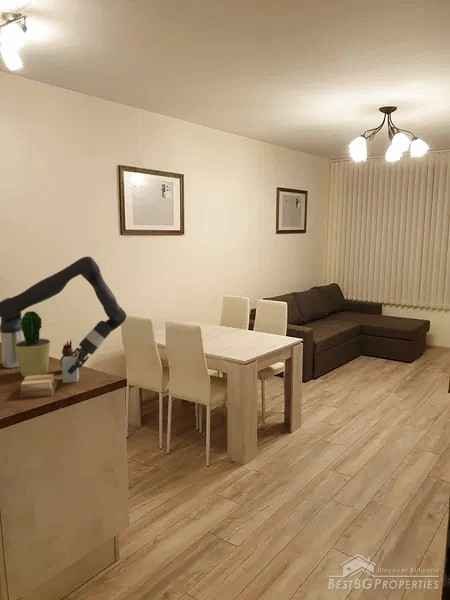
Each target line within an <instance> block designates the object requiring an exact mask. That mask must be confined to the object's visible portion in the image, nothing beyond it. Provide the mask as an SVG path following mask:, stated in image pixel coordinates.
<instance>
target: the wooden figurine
mask: <svg viewBox="0 0 450 600" xmlns="http://www.w3.org/2000/svg"><path fill="white" fill-rule="evenodd" d="M73 352H74V350H73V348H72V339H70V341H69V340H67V341H66V343H65V344H63V348H62V350H61V354H62V356H61V357H60V359H59V360H60V361H59V362H60V367H61V368H62V359H63V357H69V356H70V355H71V354H72V353H73Z"/></svg>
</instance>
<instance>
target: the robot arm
mask: <svg viewBox="0 0 450 600" xmlns="http://www.w3.org/2000/svg"><path fill="white" fill-rule="evenodd" d="M80 275H81V276H82V277H83V278H84V279H85V280H86V281H87V282H88V283H89V284H90V286H91V287H92V288H93V290H94V292H95V293H94V294H95V295H96V297H97V299H98V301H99V303H100V304H101V306H102V308H103V310H104V312H105V315H106V316H107V317H108V319H107V320H100V321H99V322H97V324H96V325H95V326H94V327H93V329H92V330H89V332H88V333H87V335H85V337H84V338H83V339H82V340H81V341H80V342H79V343H78V346H79V347H80V348H79V347H76V348H75V349H74V350H73V353H72V354H71V355H70V356H69V357H71V356H75V357H76V358H75V360H76V362H74V364H73V365H72V367H71V368H70V369H69V370H68V373H70V374H72V373H73V372H74V371H75V370H76V369H77V368H78V369H81V368H82V367H83V365H84V364H85V363H86V362H87V360H88V359H89V356H88V354H89V355H90V356H91V355H94V353H95V352H96V351H97V350H98V348H100V347H101V345H102V344H103V342H105V340H106V338H107V337H108V336H109V335H110V334H111V332H113V331H115V330H116V329H117V328H118V327H120V326H121V325H123V323H124V322H125V320H126V318H127V312H126V311H125V310H124V309H123V308H122V307H121V306H120V304H119V303H118V301H117V299H116V296H115V294H114V293H113V292H112V290H111V288H110V287H109V286H108V284H107V283H106V282H105V279H104V278H103V275H102V272H101V269H100V266H99V265H98V264H97V262H96V261H95V260H94V258H93V257H92V256H83V257H81V258H79V259H77V260H76V261H74V262H73V263H71V264H70V265H68V266H66V267H65V268H63V269H61V270H60V271H57V272H56V273H54V274H52V275H50V276H48V277H46V278H44V279H42V280H40V281H38V282H37V283H34V284H33V285H32V286H30V287H29V288H27V289H25V291H22V292H21V293H19V294H17V295H15V296H12V297H7V298H4V299H3V300H1V301H0V321H1V322H0V343H1V355H2V357H1V358H2V367H3V368H7V369H11V368H12V369H13V368H20V366H19V362H18V358H17V354H16V350H15V345H14V344H15V343H16V342H19V341H22V340H23V337H22V336H23V334H22V333H21V332H22V330H21V329H20V328H21V321H22V312H23V311H24V310H26V309H27V308H28V309H29V308H30V307H31V306H35V305H38V304H39V303H42V302H44V301H46V300H49V299H51V298H53V297H55V296H57V295H58V294H59V293H61V292H63V290H64V289H65V287H66V286H67V284H68V283H69V282H70V281H71V280H73V279H75V278H76V277H78V276H80ZM19 323H20V324H19Z"/></svg>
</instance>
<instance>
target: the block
mask: <svg viewBox="0 0 450 600" xmlns="http://www.w3.org/2000/svg"><path fill="white" fill-rule="evenodd" d="M75 358H76V357H75V356H71V357H63V359H62V367H61V373H62V384H65V383H67V384H68V383H77V382H78V381H79V378H80V373H79V372H80V371H79V370H80V368H77V369H76V370H75V371H74V372H73V373H72V374H70V373H68V370H69V369H70V368H71V367H72V365H73V364H74V362H76V360H75Z"/></svg>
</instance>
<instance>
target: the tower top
mask: <svg viewBox="0 0 450 600" xmlns="http://www.w3.org/2000/svg"><path fill="white" fill-rule="evenodd" d="M54 380H55V373H46V374H43V375H28V376H26V377H24V378H23V380H22V382H21V383H20V391H35V390H48V389H51V387H52V385H53V382H54Z"/></svg>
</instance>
